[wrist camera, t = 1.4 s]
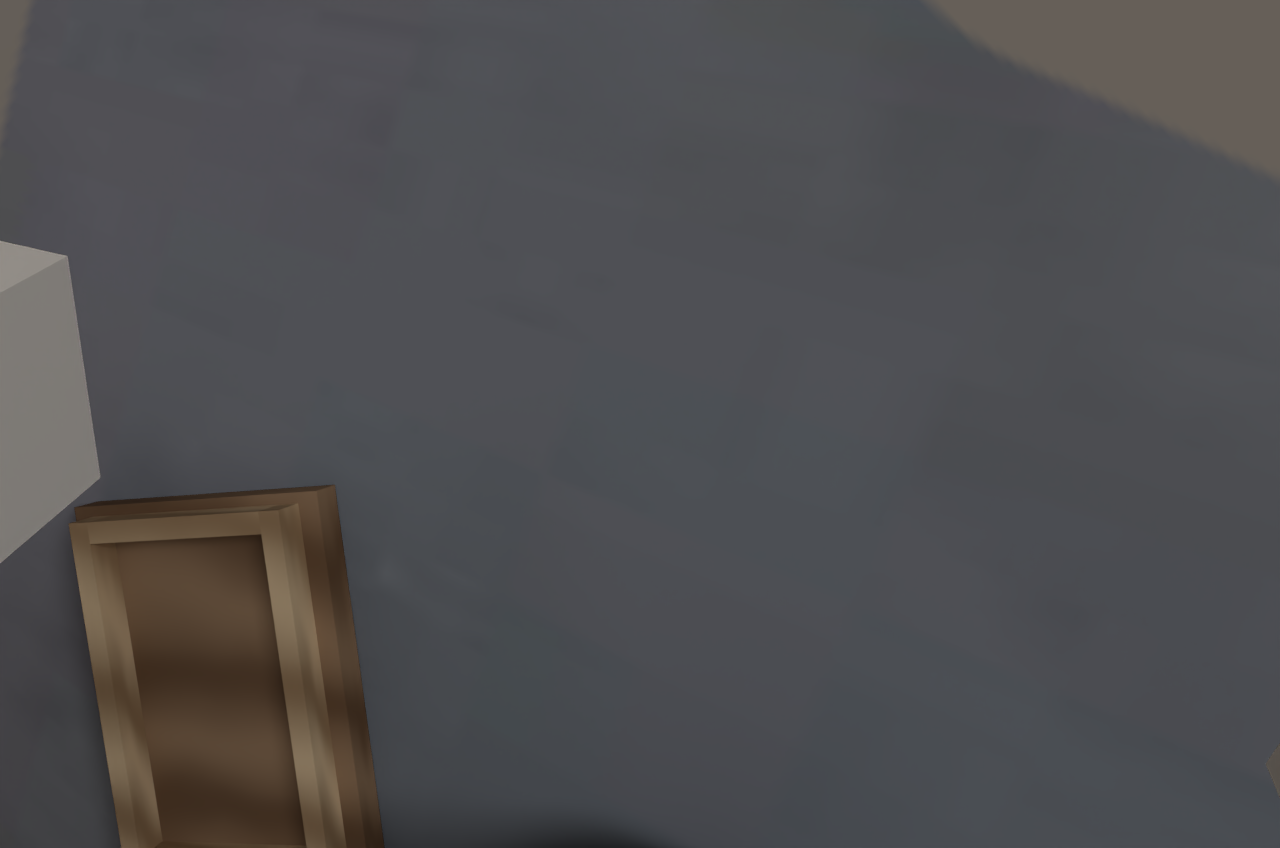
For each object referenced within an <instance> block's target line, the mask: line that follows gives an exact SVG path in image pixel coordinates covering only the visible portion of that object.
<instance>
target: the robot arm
mask: <svg viewBox="0 0 1280 848" xmlns="http://www.w3.org/2000/svg"><path fill="white" fill-rule="evenodd" d="M99 478H100V472H99V465H98V458H97V451H96V445H95V438H94V431H93V425H92V418H91V411H90V404H89V398H88V391H87V384H86V378H85V371H84V364H83V358H82V351H81V344H80V337H79V331H78V324H77V317H76V311H75V304H74V297H73V290H72V284H71V277H70V270H69V264H68V257H67V256H64V255H60V254H55V253H51V252H47V251H42V250H38V249H33V248H29V247H25V246H20V245H16V244H11V243H7V242H3V241H0V563H1V562H2V561H3V560H4V559H6V558H7V557H8V556H9V555H10V554H11V553H13V552H14V551H15V550H16V549H17V548H18V547H20V546H21V545H22V544H23V543H24V542H26V541H27V540H28V539H29V538H30V537H31V536H33V535H34V534H35V533H36V532H37V531H38V530H40V529H41V528H42V527H43V526H44V525H45V524H47V523H48V522H49V521H50V520H51V519H52V518H54V517H55V516H56V515H57V514H58V513H59V512H61V511H62V510H63V509H64V508H65V507H66V506H68V505H69V504H70V503H71V502H72V501H74V500H75V499H76V498H77V497H78V496H79V495H81V494H82V493H83V492H84V491H85V490H86V489H88V488H89V487H90V486H91V485H92V484H93V483H95V482H96V481H97V480H98V479H99ZM1266 766H1267V768H1268V771H1269V773H1270V775H1271V778H1272V780H1273V783H1274V785H1275V787H1276V790H1277V792H1278V795H1279V797H1280V744H1279V745H1278V747H1277V748H1276V749H1275V751H1274V752H1273V754H1272V755H1271V757H1270V758H1269V760H1268V761H1267V763H1266Z"/></svg>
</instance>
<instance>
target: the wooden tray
mask: <svg viewBox="0 0 1280 848" xmlns="http://www.w3.org/2000/svg"><path fill="white" fill-rule="evenodd" d="M75 514H76V522H73V523H69V529H70V535H71V541H72V547H73V554H74V560H75V566H76V572H77V578H78V584H79V590H80V597H81V603H82V609H83V615H84V621H85V627H86V633H87V640H88V646H89V652H90V658H91V664H92V670H93V676H94V683H95V689H96V695H97V701H98V707H99V713H100V719H101V726H102V732H103V738H104V744H105V750H106V756H107V762H108V768H109V775H110V781H111V787H112V793H113V799H114V805H115V811H116V818H117V824H118V830H119V836H120V842H121V848H384V841H383V833H382V826H381V819H380V812H379V804H378V797H377V790H376V782H375V775H374V768H373V760H372V753H371V746H370V739H369V731H368V724H367V717H366V709H365V702H364V695H363V688H362V680H361V673H360V666H359V658H358V651H357V644H356V637H355V629H354V622H353V615H352V607H351V600H350V593H349V586H348V578H347V571H346V564H345V556H344V549H343V542H342V535H341V527H340V520H339V513H338V505H337V498H336V491H335V485H326V486H311V487H297V488H283V489H269V490H255V491H240V492H226V493H212V494H198V495H184V496H169V497H155V498H141V499H127V500H112V501H98V502H94V503H90V504H87V505H83V506H79V507H75Z"/></svg>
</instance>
